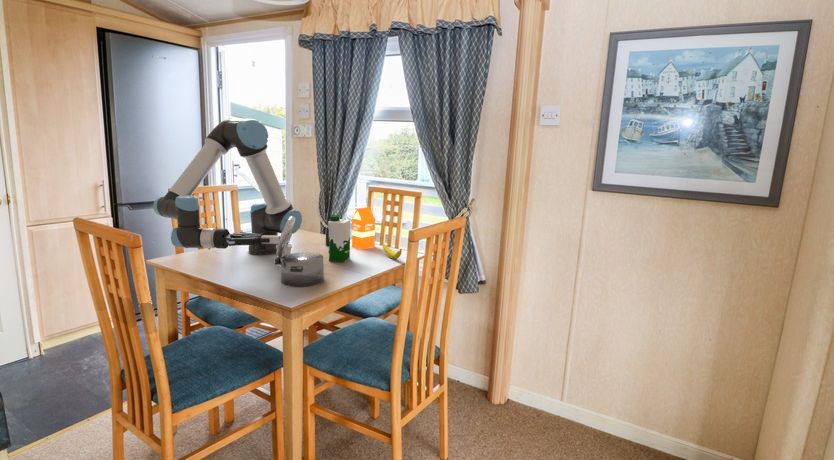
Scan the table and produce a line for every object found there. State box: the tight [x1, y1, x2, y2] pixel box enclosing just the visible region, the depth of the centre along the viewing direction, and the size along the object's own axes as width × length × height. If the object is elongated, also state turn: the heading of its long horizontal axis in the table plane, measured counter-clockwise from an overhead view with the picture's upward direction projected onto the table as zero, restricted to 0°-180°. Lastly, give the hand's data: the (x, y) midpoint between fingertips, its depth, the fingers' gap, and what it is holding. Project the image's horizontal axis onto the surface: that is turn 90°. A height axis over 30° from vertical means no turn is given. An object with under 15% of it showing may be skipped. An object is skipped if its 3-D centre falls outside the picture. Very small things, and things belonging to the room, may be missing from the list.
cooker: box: [274, 251, 325, 288], centre depth 175 cm, size 18×21×9 cm
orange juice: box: [351, 206, 376, 250], centre depth 228 cm, size 8×9×20 cm
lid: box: [275, 216, 295, 257], centre depth 172 cm, size 16×16×2 cm
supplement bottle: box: [325, 226, 329, 247], centre depth 231 cm, size 7×7×12 cm
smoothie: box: [276, 243, 293, 269], centre depth 190 cm, size 6×6×14 cm
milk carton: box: [327, 214, 351, 263], centre depth 203 cm, size 9×9×20 cm
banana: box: [381, 242, 403, 260], centre depth 210 cm, size 3×19×6 cm, turn 30°
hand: (279, 239), depth 170 cm, fingers closed
